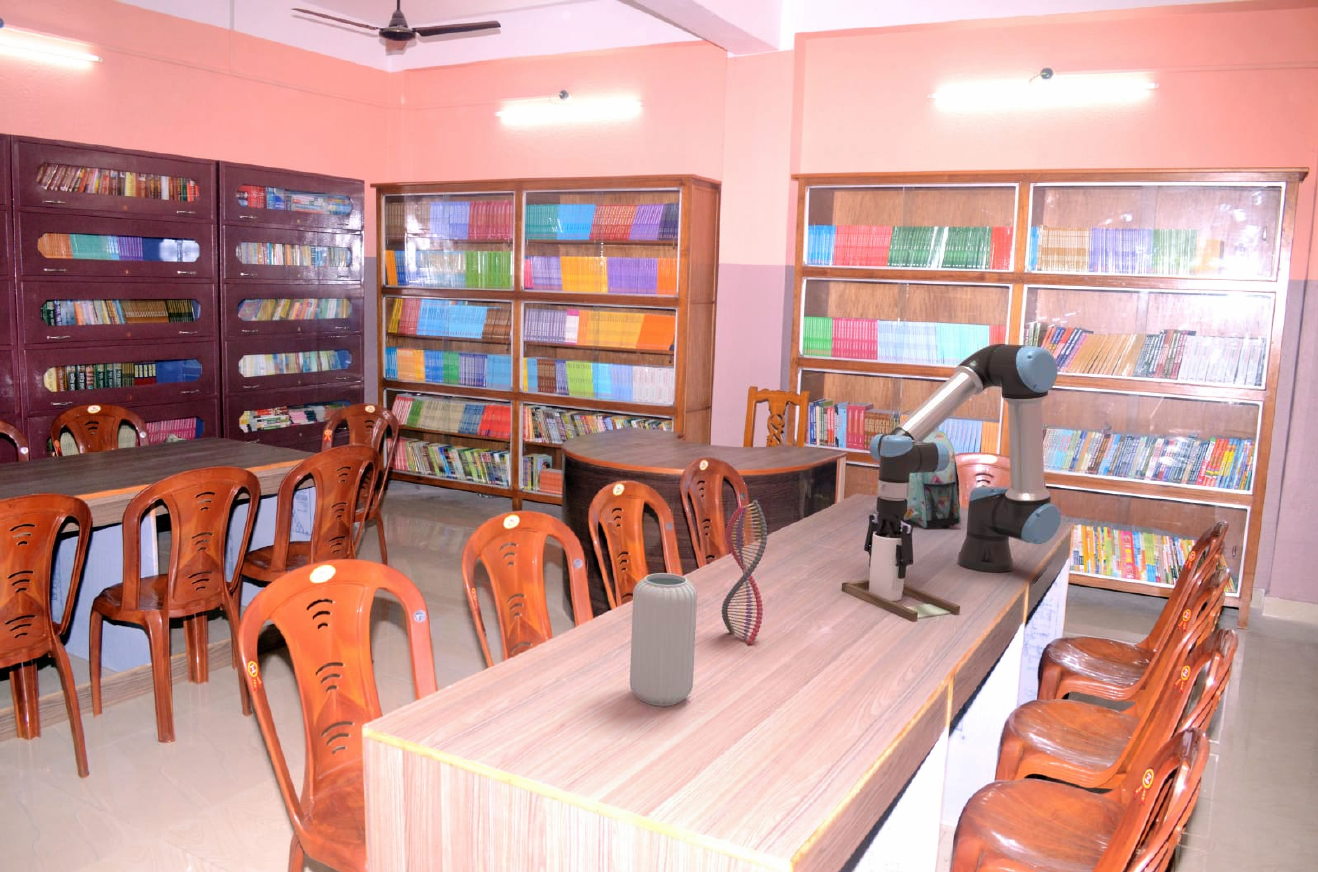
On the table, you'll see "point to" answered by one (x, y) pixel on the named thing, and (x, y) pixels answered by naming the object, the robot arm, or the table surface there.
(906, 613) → the frame
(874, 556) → the cup
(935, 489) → the backpack
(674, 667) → the vase
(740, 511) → the dna model
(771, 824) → the table surface
